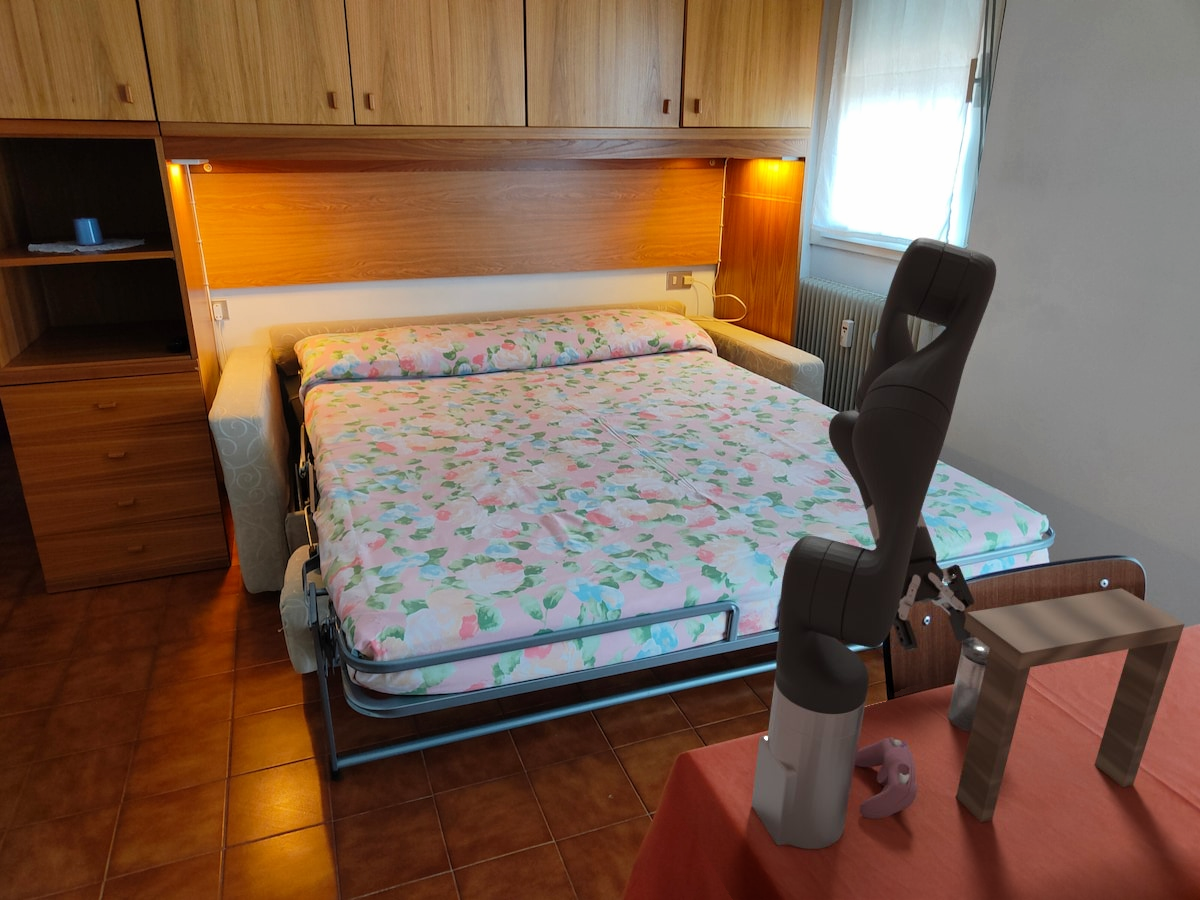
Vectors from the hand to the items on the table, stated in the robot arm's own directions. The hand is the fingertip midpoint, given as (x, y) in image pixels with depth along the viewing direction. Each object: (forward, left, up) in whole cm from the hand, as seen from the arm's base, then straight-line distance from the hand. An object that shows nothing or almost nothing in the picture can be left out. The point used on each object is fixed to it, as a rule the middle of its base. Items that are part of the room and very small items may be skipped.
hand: (938, 644), depth 112 cm
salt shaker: (0, -8, -6) cm, 10 cm away
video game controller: (-19, -16, -7) cm, 26 cm away
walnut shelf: (0, -19, -6) cm, 20 cm away
